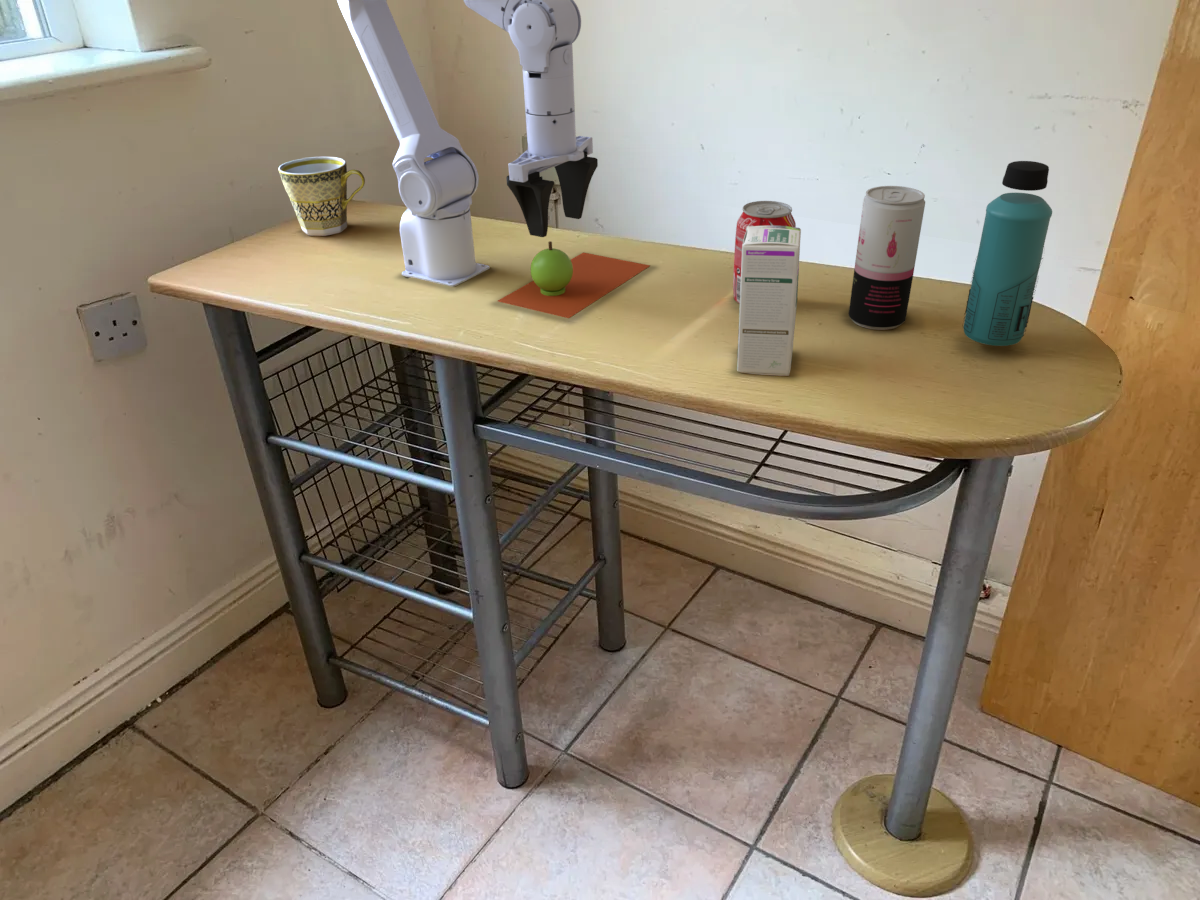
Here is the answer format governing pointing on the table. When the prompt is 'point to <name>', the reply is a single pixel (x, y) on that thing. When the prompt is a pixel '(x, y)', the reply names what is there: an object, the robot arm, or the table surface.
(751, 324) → the syrup box
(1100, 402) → the table surface
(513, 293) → the cloth
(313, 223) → the ceramic cup
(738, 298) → the soda can
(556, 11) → the robot arm
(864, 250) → the beverage can
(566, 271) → the apple
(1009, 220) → the beverage bottle
